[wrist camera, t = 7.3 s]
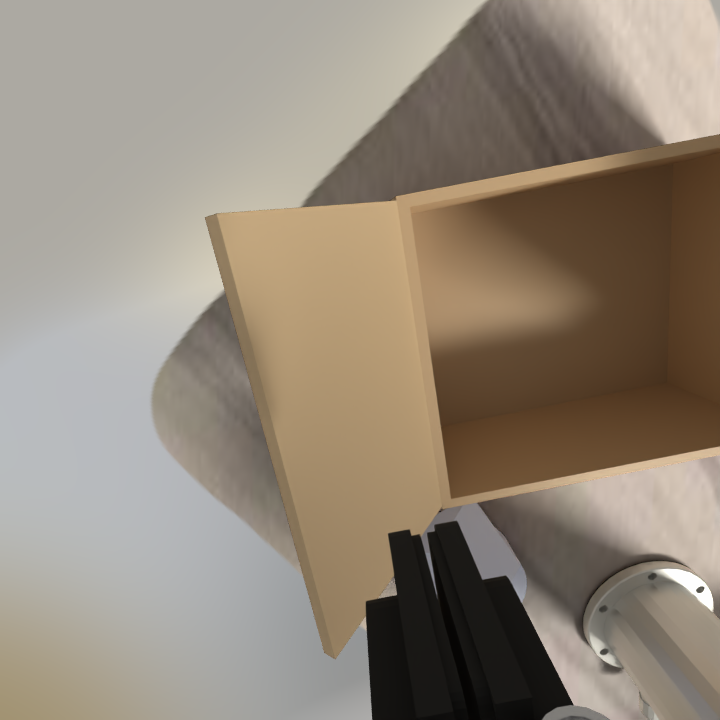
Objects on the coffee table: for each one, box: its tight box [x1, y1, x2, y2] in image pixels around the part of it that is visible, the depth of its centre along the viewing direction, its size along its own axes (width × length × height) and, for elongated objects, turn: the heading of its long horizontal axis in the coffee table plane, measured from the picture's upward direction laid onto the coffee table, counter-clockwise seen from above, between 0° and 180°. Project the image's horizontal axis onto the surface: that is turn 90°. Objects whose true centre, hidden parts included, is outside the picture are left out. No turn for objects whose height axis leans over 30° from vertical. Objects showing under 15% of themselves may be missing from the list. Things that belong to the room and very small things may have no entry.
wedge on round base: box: [421, 503, 527, 603], centre depth 35 cm, size 9×7×13 cm
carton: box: [391, 134, 720, 509], centre depth 27 cm, size 18×22×10 cm
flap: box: [205, 201, 442, 659], centre depth 19 cm, size 18×10×1 cm
